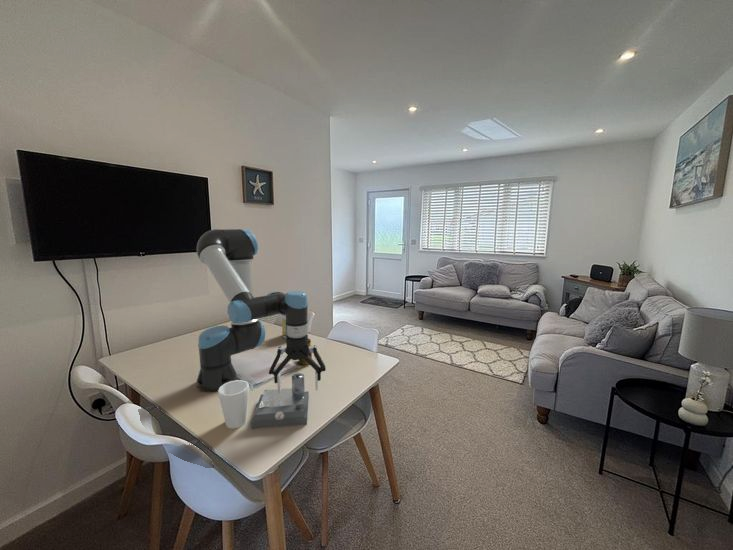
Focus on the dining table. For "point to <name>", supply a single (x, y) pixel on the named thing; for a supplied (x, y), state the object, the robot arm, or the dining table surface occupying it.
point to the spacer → (298, 386)
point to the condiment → (302, 362)
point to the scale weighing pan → (279, 398)
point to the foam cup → (234, 402)
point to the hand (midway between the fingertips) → (298, 389)
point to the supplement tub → (284, 326)
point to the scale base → (281, 415)
